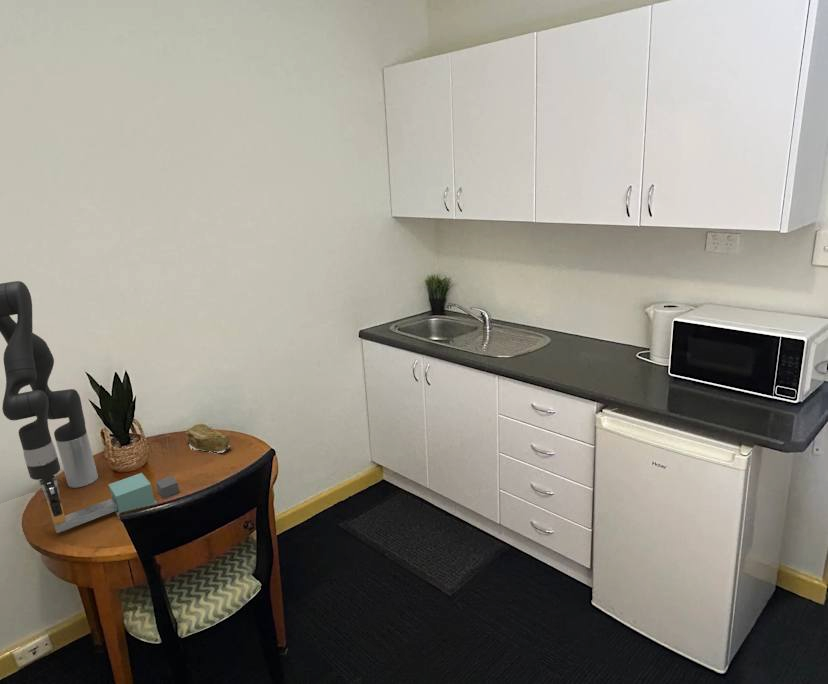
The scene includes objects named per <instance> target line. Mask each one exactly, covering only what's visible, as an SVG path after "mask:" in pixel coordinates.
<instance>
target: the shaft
mask: <svg viewBox="0 0 828 684" xmlns="http://www.w3.org/2000/svg"><path fill="white" fill-rule="evenodd" d="M59 498H60V499H61V497H60V496H59ZM45 499H46V501H47V505H48V508H49V512H50V516H51V519H52V523H53V526H54V529H55V532H56V534H58V533H59V534H60V533H62V532H65V531H67V530H70V529H72V528H74V527H77V526H80V525H82V524H86V523H87V522H91V521H93V520H96V519H98V518H101V517H103V516H107V515H109V514H112V513H114V512H115V511H117V510H118V507H117V503H116V500H115V499H114V498H112V497H111V498H109V499H107V500H104V501H101V502H98V503H94V504H93V505H90V506H87V507H84V508H82V509H79V510H76V511H74V512H71V513H69V514H65V511H64V508H63V504H62V502H61V503H60V506H61V509H62V515H59V516H56V517H54V515H53V512H52V508H51V506H50V505H49V500H48V498H46V497H45ZM54 500H57V498H55V499H52V500H51V501H54Z"/></svg>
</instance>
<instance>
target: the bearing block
mask: <svg viewBox="0 0 828 684" xmlns="http://www.w3.org/2000/svg"><path fill="white" fill-rule="evenodd" d="M108 489H109V493H110V496H111V498H114V499H115V500H116V503H117V507H118V510H117V511H114V512H115V514H116V516H118V515H119V513H121V512H124V511H128V510H132V509H136V508H139V507H145V506H149V505H152V504H158V501H157V500H156V499H155V496H154V492H153V488H152V484H151V482H150V481H149V479H147V477H146V476H145V474H143V472H140V473H137V474H135V475H132V476H128V477H126V478H123V479H121V480H117V481H114V482H111V483H108Z"/></svg>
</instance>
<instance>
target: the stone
mask: <svg viewBox="0 0 828 684" xmlns="http://www.w3.org/2000/svg"><path fill="white" fill-rule="evenodd" d="M184 436H185V438H186V440H187V441H188V442H189V444H188V446H189V448H190V450H192V448H193V449H194V450H193V451H198V450H202V451H209V452H208V453H210V452H211V453H213V452H212V451H214V452H217V453H216V454H219V453H224V452H226V451H227V450H228V449H230V448H231V446H230V445H229V443H230V436H229V435H225V434H223V433H222V432H219V431H218V429H214V428H213V427H209V425H207V424H204V423H198V424H194V425H193V426H192V427H191V428H187V430H186V431H185V432H184ZM228 445H229V446H228ZM202 451H201V452H202Z"/></svg>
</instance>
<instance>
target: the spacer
mask: <svg viewBox="0 0 828 684" xmlns="http://www.w3.org/2000/svg"><path fill="white" fill-rule="evenodd" d="M155 484H156V490H157V493H158V494H159V495H160V497H161V498H162V499H163V500H165V499H168V498H171V497H172V496H176V495H177V494H180V489H179V484H178V481H176V478H175V479H174V477H173V476H172V475H170V476H167V477H164V478H162V479H159V480H156V481H155Z"/></svg>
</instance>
